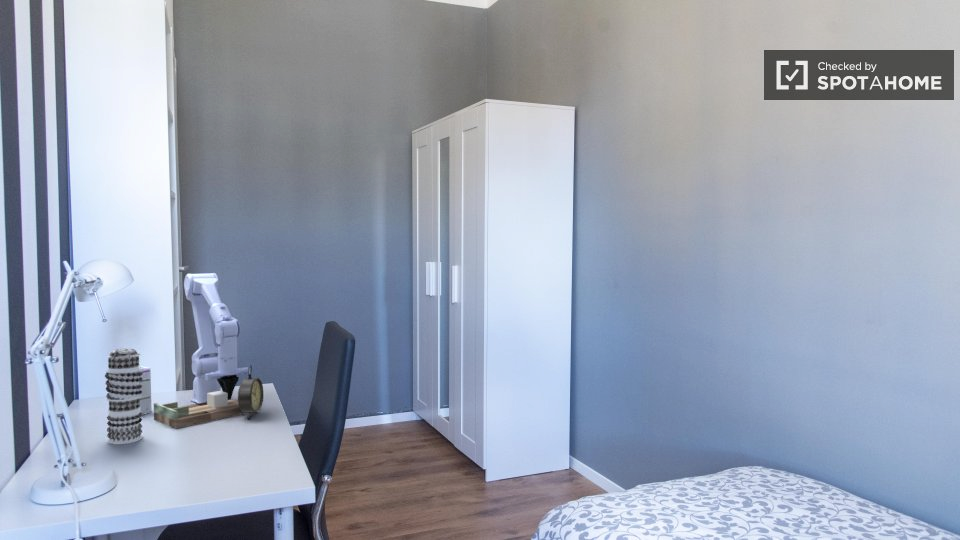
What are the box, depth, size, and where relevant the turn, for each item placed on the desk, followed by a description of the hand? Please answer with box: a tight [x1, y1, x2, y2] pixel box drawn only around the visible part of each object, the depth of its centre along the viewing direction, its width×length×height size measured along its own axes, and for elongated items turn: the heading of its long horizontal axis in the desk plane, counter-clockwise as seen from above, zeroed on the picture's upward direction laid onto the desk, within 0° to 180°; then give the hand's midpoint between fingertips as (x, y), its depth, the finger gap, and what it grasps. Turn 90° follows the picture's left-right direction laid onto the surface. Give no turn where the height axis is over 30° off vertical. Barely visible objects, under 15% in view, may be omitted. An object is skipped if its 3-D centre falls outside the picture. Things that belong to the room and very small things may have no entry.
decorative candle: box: [104, 348, 143, 445], centre depth 182 cm, size 9×9×25 cm
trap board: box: [153, 398, 245, 430], centre depth 207 cm, size 14×24×5 cm, turn 140°
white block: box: [207, 390, 228, 408], centre depth 210 cm, size 4×4×4 cm
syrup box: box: [139, 365, 153, 415], centre depth 209 cm, size 6×6×14 cm
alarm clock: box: [237, 364, 264, 420], centre depth 207 cm, size 11×5×16 cm, turn 179°
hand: (227, 399), depth 213 cm, fingers closed
